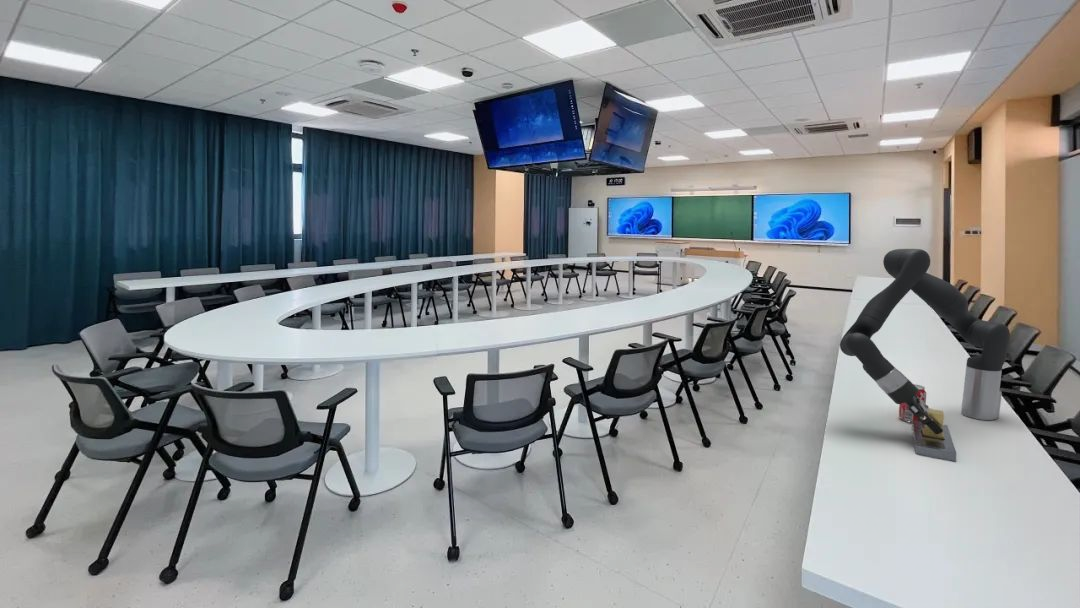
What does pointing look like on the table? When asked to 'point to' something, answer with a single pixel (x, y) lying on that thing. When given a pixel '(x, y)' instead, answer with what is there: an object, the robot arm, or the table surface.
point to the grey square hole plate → (933, 443)
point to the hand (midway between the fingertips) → (938, 428)
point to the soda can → (903, 409)
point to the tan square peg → (939, 419)
